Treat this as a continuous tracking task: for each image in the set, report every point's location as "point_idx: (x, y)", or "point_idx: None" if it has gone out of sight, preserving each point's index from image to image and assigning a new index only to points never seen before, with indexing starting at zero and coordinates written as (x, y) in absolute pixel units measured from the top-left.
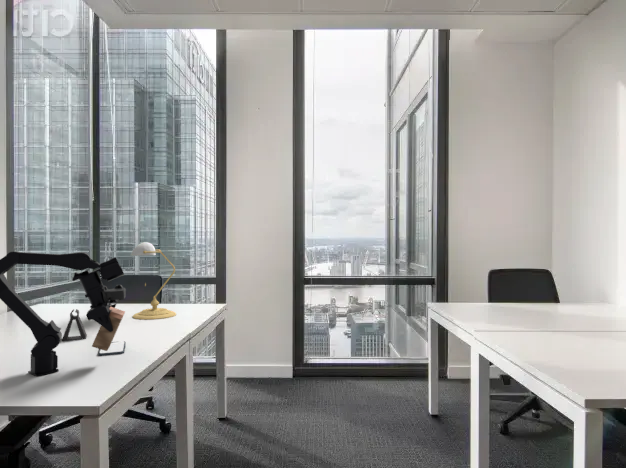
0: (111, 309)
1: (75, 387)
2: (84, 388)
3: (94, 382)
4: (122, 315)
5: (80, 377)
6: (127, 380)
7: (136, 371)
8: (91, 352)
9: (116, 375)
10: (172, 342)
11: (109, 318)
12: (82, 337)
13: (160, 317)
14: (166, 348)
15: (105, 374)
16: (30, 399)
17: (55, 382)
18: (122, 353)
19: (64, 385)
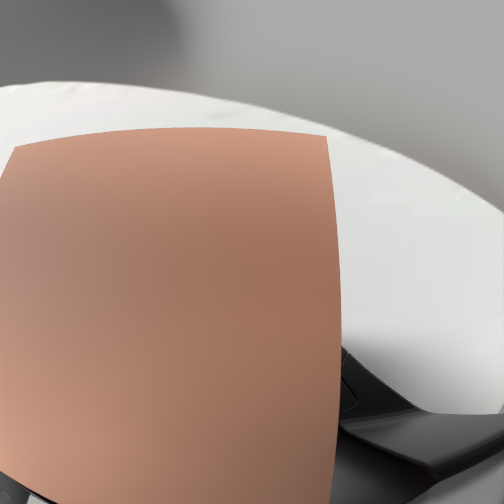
0: (119, 477)
1: (465, 342)
2: (481, 313)
3: (449, 297)
4: (325, 144)
5: (380, 360)
6: (460, 190)
7: (375, 157)
8: None
9: (405, 231)
10: (24, 94)
11: (371, 390)
12: None
13: None
14: (75, 88)
15: (380, 276)
16: (483, 410)
17: None
18: None
19: (436, 380)
